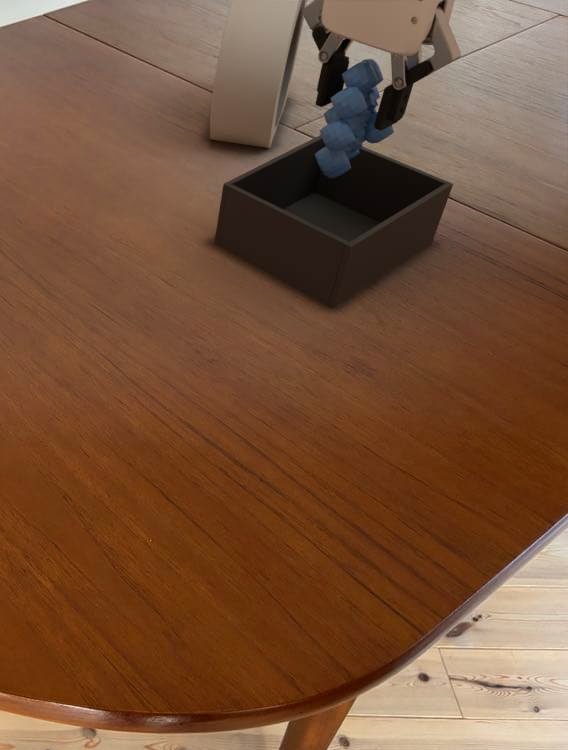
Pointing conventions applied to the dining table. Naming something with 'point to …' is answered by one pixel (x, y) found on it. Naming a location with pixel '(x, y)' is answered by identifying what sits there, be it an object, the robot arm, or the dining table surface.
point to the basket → (330, 219)
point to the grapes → (351, 119)
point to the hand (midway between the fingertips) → (356, 111)
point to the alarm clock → (255, 69)
